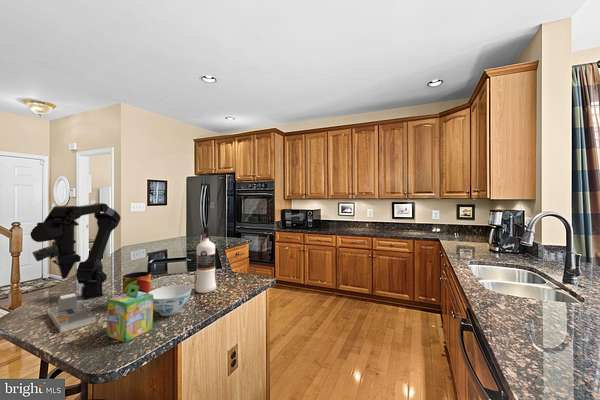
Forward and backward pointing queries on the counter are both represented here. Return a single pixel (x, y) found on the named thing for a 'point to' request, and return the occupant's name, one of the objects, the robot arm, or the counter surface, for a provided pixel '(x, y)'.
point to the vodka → (205, 264)
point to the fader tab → (67, 302)
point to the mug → (137, 281)
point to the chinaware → (170, 299)
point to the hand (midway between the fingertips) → (64, 278)
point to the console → (71, 317)
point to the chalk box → (129, 314)
